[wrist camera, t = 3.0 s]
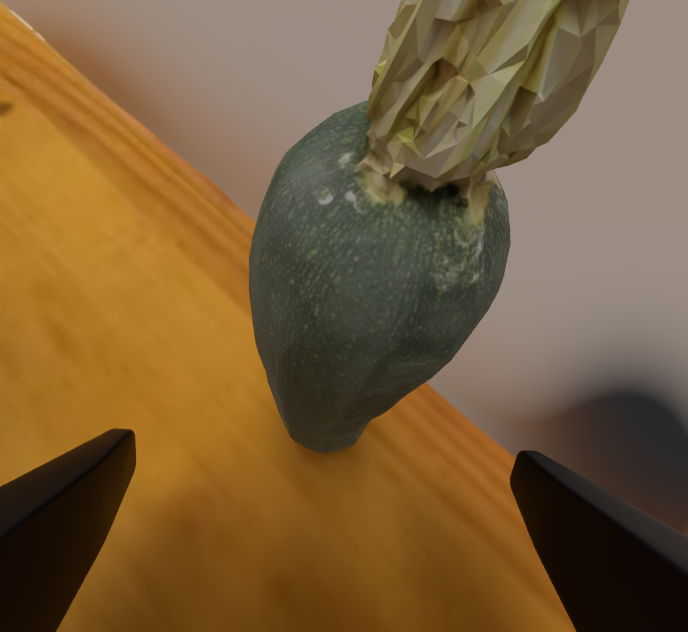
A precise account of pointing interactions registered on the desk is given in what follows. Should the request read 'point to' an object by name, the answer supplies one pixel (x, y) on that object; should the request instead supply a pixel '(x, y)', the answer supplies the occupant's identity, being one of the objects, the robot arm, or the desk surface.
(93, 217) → the desk surface
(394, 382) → the vegetable
